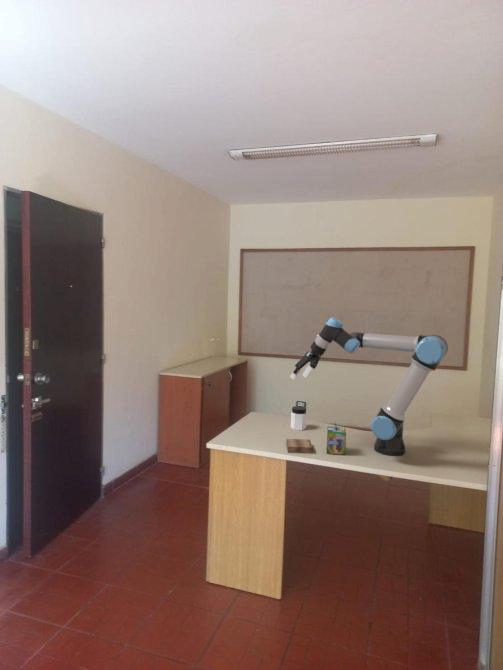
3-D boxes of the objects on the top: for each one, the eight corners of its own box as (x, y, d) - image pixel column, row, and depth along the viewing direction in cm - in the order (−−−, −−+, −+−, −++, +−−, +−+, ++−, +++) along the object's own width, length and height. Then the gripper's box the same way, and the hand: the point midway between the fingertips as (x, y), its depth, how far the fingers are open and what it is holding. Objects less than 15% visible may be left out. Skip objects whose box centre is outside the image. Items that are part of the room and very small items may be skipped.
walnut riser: (309, 445, 237) (309, 439, 236) (312, 453, 225) (312, 447, 224) (286, 444, 237) (286, 438, 236) (288, 452, 225) (288, 446, 224)
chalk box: (345, 455, 223) (347, 426, 222) (326, 454, 225) (327, 424, 223) (344, 449, 233) (346, 420, 231) (326, 447, 234) (327, 419, 232)
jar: (296, 425, 272) (297, 405, 270) (308, 428, 266) (309, 407, 265) (288, 428, 265) (288, 407, 263) (300, 431, 260) (300, 410, 258)
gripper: (325, 340, 244) (304, 371, 251) (303, 340, 223) (281, 374, 230) (336, 349, 241) (314, 380, 248) (314, 350, 220) (291, 384, 227)
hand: (298, 377), depth 239 cm, fingers open, 13 cm apart
